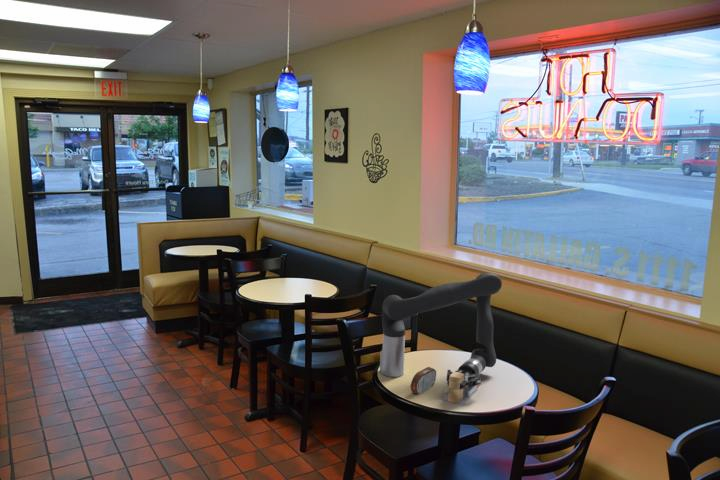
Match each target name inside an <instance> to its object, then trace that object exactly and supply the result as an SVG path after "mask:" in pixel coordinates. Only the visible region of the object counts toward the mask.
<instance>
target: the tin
mask: <svg viewBox="0 0 720 480" xmlns="http://www.w3.org/2000/svg"><path fill="white" fill-rule="evenodd" d="M436 378H437V371H436V369H435V368H433V367H430V366H427V367H426V368H423V369H420V370H419V371H417V372H416V373H415V374H414V375H413V377H412V379H411V384H410V391H411V392H412V393H414V394H417V395H420V394H421V393H423V392H425V391H427V390H428V389H430V388H431V387H433V386H434V384H435V382H436V380H437V379H436Z"/></svg>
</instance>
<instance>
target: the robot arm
mask: <svg viewBox="0 0 720 480" xmlns="http://www.w3.org/2000/svg"><path fill="white" fill-rule="evenodd" d="M502 285H503V282H502V279H501V278H500V277H499V275H497V274H494V273H491V272H490V273H489V272H486V273H480V274H479V275H477V276H476V278H474V279H471V280H467V281H466V280H465V281H457V282H449V283H444V284H440V285H436V286H433V287H431V288H429V289H427V290H426V291H423V293H421V294H420V295H418V296H414V297H412V296H411V297H409V298H402V297H401V296H399V295H397V294H391V295H390V294H389V295H388V296H387V297H385V298H384V300H383V303H382V308H381V314H382V315H381V323H382V324H381V326H382V331H383V332H382V349H381V350H380V354H379V355H380V357H379V359H380V360H379V373H380V374H382V375H384V376H386V377H391V378H397V377H398V378H399V377H402V376H404V370H405V369H404V368H405V366H404V365H405V348H406V347H405V346H406V344H405V343H406V327H405V323H404V320H405V319H408V318H410V317H414V316H415V315H418V314H422V313H425V312H431V311H434V310H437V309H442V308H445V307H449V306H452V305H455V304H459V303H462V302H465V301H468V300H469V299H470V300H471V299H475V301H476V302H475V303H476V330H475V331H476V335H475V337H476V338H475V341H476V342H477V343H478V344H480V345H483V346H485V347H486V349H484V348H475V349H473V350H472V351H471V355H470V357H469V359H467V360H465V362H463V363H462V364H461V365H460V366H459V367H458V368H457V369H456V370H455V371H452V370H451V369H447V373H446V382H447V387H449V376H450V375H451V374H452V373H453V372H458V373H463V374H464V381H462V382H461V383H460V389H461V390H462V389H463V388H465V387H471V388H472V387H474V386H476V385H479V384H480V381H481V377H480V375H481V374H482V372H483V371H484V370H485V369H486V367H487V368H492V367H494V366H495V365H496V363H497V354H496V351H495V347H494V320H493V313H492V308H491V299H492V298H491V297H492V295H495V294H497V293H499V291H500V290H501V288H502Z"/></svg>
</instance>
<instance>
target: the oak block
mask: <svg viewBox="0 0 720 480" xmlns="http://www.w3.org/2000/svg"><path fill="white" fill-rule="evenodd" d="M452 372H453V373H452V374H451V375H450V376H449V386H448V394H447V395H448V401H450V402H449V403H451V402H453V403H452V404H454V403H457V404H456V405H458V403H459V402H460V401H461V400H462V399H463V389H462V390H461V389H460V383H461V382H462V381H464V374H463V373H458V372H455V371H452Z"/></svg>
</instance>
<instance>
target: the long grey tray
mask: <svg viewBox="0 0 720 480" xmlns="http://www.w3.org/2000/svg"><path fill="white" fill-rule="evenodd" d="M481 385H482V380H480V384H479V385H476V386H474V387H469V386H467V387H465V388H463V399H462V400H461V401H460V402H459V403H458V404H457V403H453V402H450V401H448V394H447V395H446V396H445V397H444V398H443V399H442V401H443V402H448V403H452V404H454V405H458V406H462V407H463V406H464V405H465V404H466V403H467V402H468V401H469V400H470V399H471V398H472V396H473V395H474V394H475V393H476V392H477V391H478V390H479V389H478V388H479V387H480V386H481Z"/></svg>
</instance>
